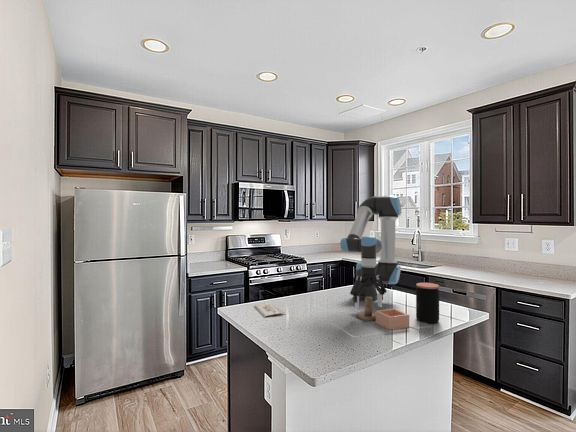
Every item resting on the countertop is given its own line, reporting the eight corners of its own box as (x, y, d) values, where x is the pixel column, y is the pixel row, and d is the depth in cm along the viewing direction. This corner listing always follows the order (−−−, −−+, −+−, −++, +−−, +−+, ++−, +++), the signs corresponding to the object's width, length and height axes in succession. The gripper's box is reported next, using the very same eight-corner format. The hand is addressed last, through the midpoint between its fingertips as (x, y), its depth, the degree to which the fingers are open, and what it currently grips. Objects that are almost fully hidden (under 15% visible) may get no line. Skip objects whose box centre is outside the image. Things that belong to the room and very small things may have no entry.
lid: (372, 312, 180) (372, 293, 180) (386, 319, 168) (386, 299, 168) (351, 314, 176) (351, 295, 176) (364, 321, 164) (364, 301, 164)
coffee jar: (421, 316, 174) (421, 281, 174) (442, 320, 167) (442, 284, 167) (412, 320, 167) (412, 284, 167) (433, 325, 159) (434, 288, 159)
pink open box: (394, 320, 167) (394, 308, 167) (409, 327, 156) (409, 314, 156) (375, 323, 163) (375, 310, 163) (389, 330, 153) (389, 317, 153)
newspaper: (286, 316, 176) (286, 311, 176) (264, 321, 172) (264, 316, 172) (273, 305, 198) (273, 300, 198) (253, 309, 194) (253, 304, 194)
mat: (372, 312, 181) (372, 311, 181) (388, 320, 167) (388, 319, 167) (349, 315, 176) (349, 314, 176) (364, 323, 163) (364, 322, 163)
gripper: (384, 264, 179) (384, 303, 179) (343, 266, 171) (343, 307, 171) (393, 266, 172) (393, 307, 172) (350, 268, 164) (350, 311, 164)
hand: (368, 307), depth 172 cm, fingers open, 13 cm apart
